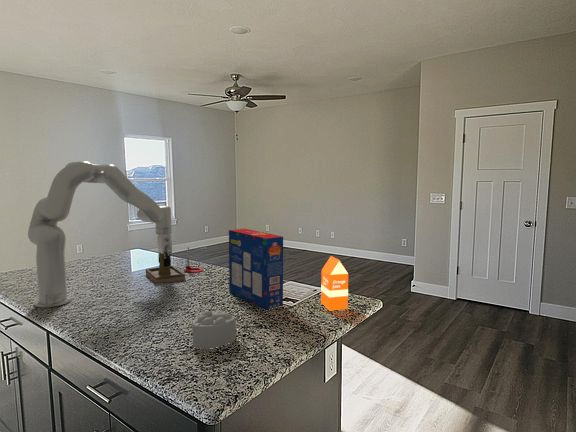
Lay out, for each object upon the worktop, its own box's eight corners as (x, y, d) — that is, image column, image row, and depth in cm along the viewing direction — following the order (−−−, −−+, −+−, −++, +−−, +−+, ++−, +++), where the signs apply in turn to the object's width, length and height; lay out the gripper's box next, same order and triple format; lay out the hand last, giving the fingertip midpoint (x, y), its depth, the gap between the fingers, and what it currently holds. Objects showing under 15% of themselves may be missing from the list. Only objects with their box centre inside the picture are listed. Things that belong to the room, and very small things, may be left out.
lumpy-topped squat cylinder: (240, 340, 115) (239, 313, 114) (204, 354, 106) (203, 325, 105) (220, 330, 122) (220, 305, 121) (185, 342, 113) (184, 315, 112)
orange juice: (328, 312, 139) (329, 260, 136) (320, 305, 147) (321, 255, 145) (348, 311, 141) (349, 259, 139) (338, 303, 149) (339, 254, 147)
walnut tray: (185, 280, 182) (184, 273, 181) (155, 284, 174) (155, 277, 174) (173, 271, 198) (172, 265, 198) (145, 275, 190) (145, 269, 190)
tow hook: (205, 270, 203) (190, 268, 205) (206, 247, 201) (190, 245, 203) (198, 274, 194) (182, 272, 197) (198, 250, 193) (182, 248, 195)
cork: (166, 271, 190) (166, 250, 189) (173, 273, 186) (172, 252, 185) (155, 273, 185) (155, 252, 184) (162, 276, 181) (162, 254, 180)
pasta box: (282, 306, 145) (283, 236, 142) (266, 310, 140) (266, 238, 137) (244, 289, 167) (244, 228, 164) (229, 292, 162) (228, 230, 159)
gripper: (176, 232, 179) (177, 266, 180) (166, 228, 193) (167, 260, 195) (160, 233, 174) (161, 268, 176) (151, 229, 189) (152, 261, 190)
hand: (164, 264), depth 185 cm, fingers open, 9 cm apart
